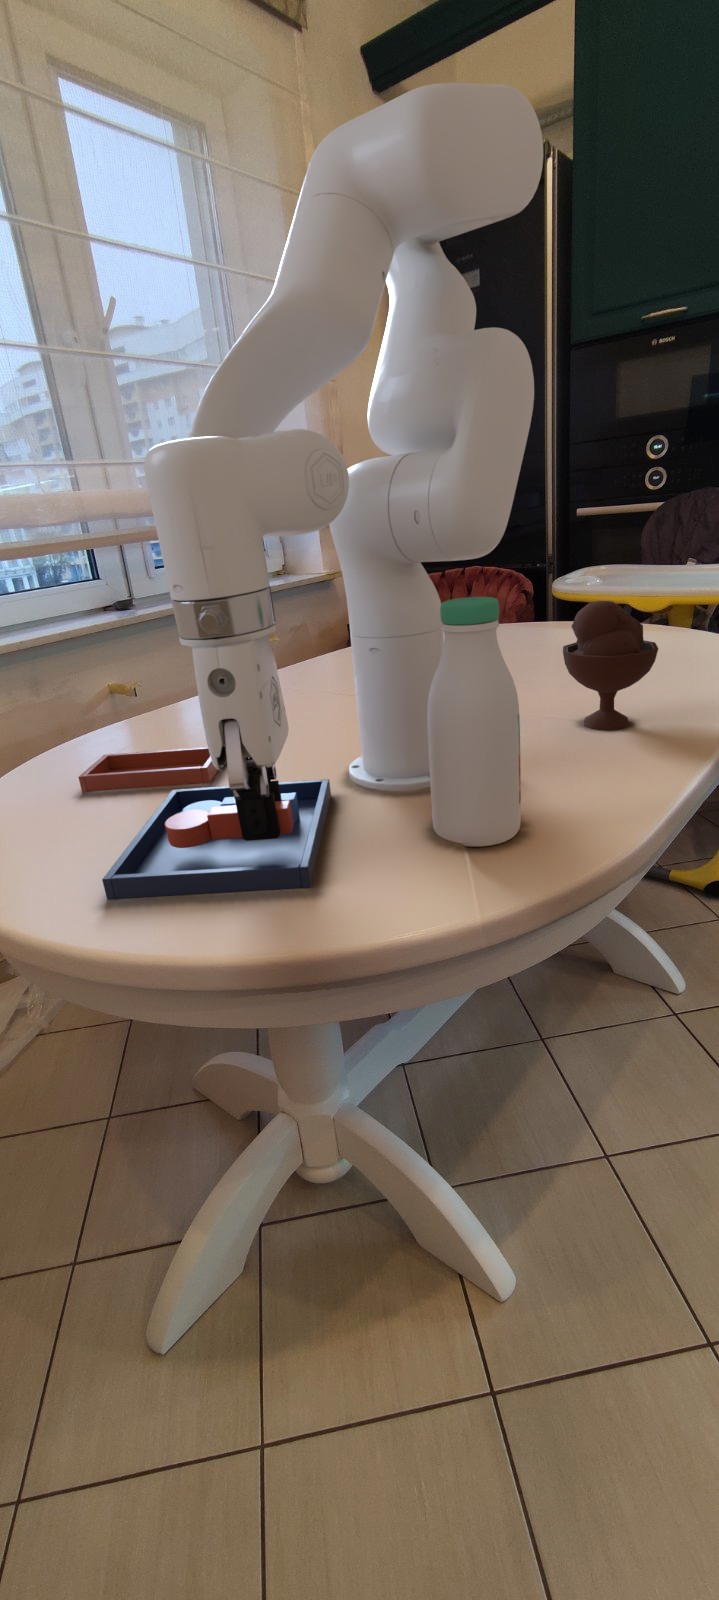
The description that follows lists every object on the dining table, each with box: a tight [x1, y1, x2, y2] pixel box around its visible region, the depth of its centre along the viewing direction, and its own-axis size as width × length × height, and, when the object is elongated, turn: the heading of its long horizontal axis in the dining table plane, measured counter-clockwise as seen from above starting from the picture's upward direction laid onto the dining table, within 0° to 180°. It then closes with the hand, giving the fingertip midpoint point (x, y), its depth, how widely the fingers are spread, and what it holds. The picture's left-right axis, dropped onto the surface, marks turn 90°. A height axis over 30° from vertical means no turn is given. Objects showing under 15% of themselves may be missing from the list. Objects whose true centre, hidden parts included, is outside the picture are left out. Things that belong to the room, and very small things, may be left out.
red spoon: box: [165, 800, 294, 848], centre depth 63 cm, size 11×4×2 cm, turn 88°
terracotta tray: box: [78, 746, 219, 795], centre depth 85 cm, size 15×8×2 cm, turn 88°
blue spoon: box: [182, 793, 299, 823], centre depth 69 cm, size 11×4×2 cm, turn 88°
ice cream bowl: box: [562, 600, 659, 731], centre depth 87 cm, size 11×11×15 cm
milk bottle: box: [427, 596, 522, 848], centre depth 61 cm, size 8×8×20 cm
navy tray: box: [101, 778, 332, 901], centre depth 66 cm, size 16×19×2 cm
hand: (264, 829), depth 63 cm, fingers closed on red spoon, 2 cm apart
